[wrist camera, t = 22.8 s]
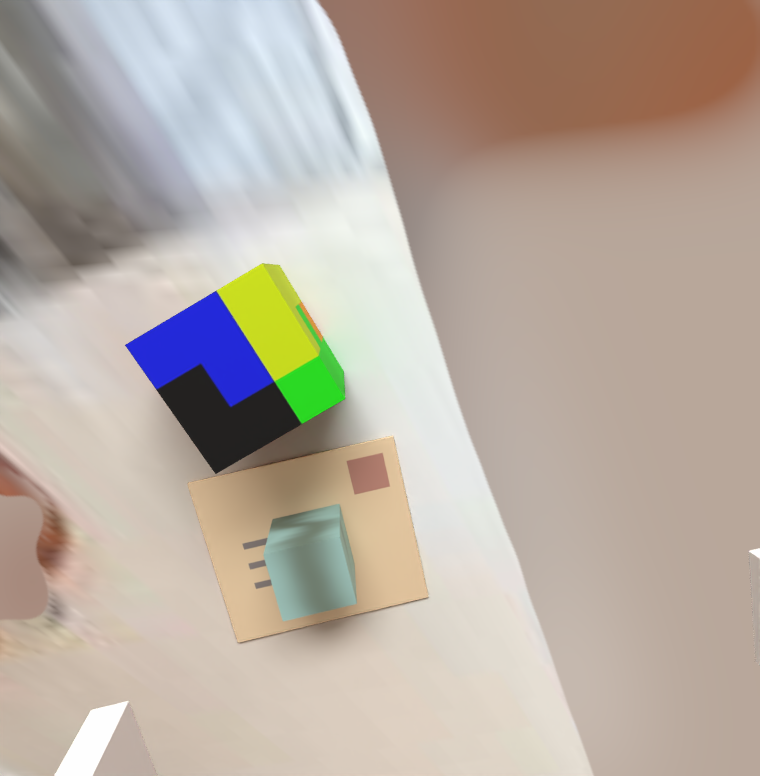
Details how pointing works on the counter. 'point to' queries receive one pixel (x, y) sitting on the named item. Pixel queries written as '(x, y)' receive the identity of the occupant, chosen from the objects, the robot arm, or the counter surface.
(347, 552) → the teal block
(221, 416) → the puzzle toy
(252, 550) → the letter card
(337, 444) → the counter surface
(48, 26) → the counter surface
